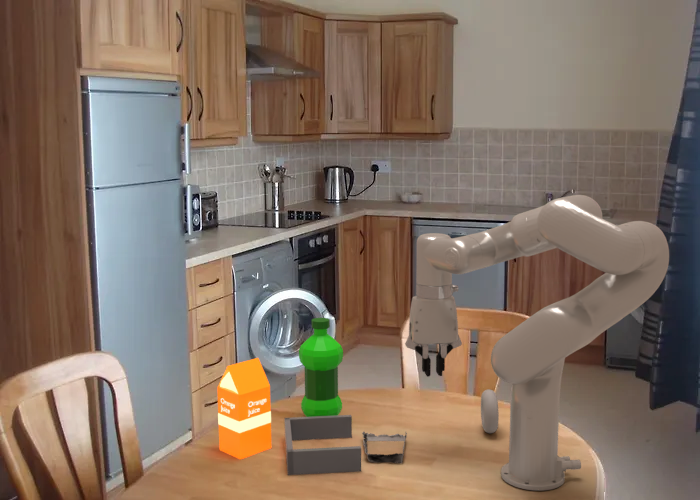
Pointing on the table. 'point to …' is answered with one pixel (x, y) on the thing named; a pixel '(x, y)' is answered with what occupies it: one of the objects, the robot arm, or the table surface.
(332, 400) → the plastic bottle
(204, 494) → the table surface
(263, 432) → the orange juice
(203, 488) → the table surface
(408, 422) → the table surface
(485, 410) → the donut
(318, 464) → the tray
